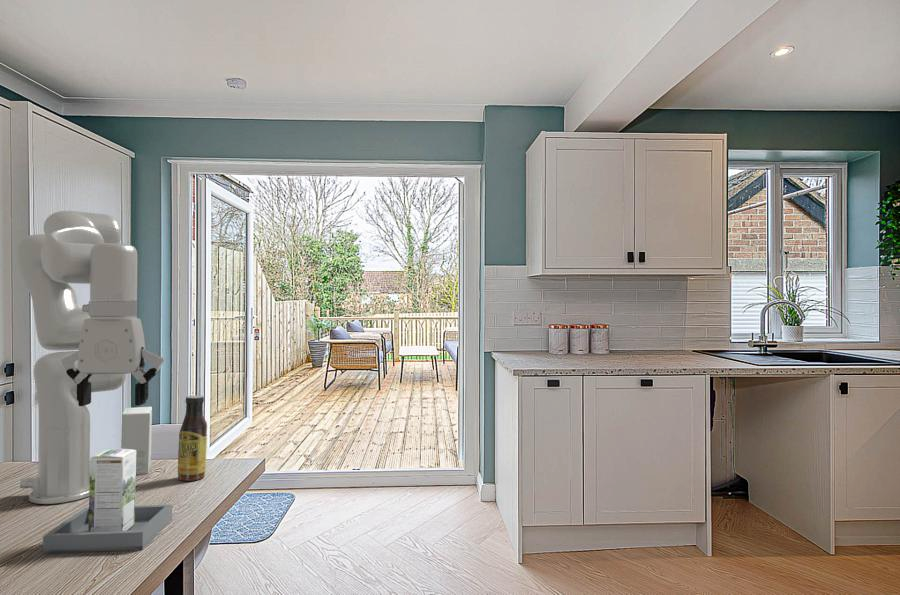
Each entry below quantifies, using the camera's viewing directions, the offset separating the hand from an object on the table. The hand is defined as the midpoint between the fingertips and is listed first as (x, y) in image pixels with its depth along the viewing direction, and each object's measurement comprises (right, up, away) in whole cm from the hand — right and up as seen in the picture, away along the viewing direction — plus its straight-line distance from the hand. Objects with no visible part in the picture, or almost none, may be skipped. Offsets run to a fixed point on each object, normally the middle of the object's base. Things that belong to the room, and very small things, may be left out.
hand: (112, 404), depth 107 cm
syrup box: (0, -23, 0) cm, 23 cm away
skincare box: (-17, -25, +41) cm, 51 cm away
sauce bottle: (-1, -24, +35) cm, 42 cm away
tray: (0, -24, 0) cm, 24 cm away
